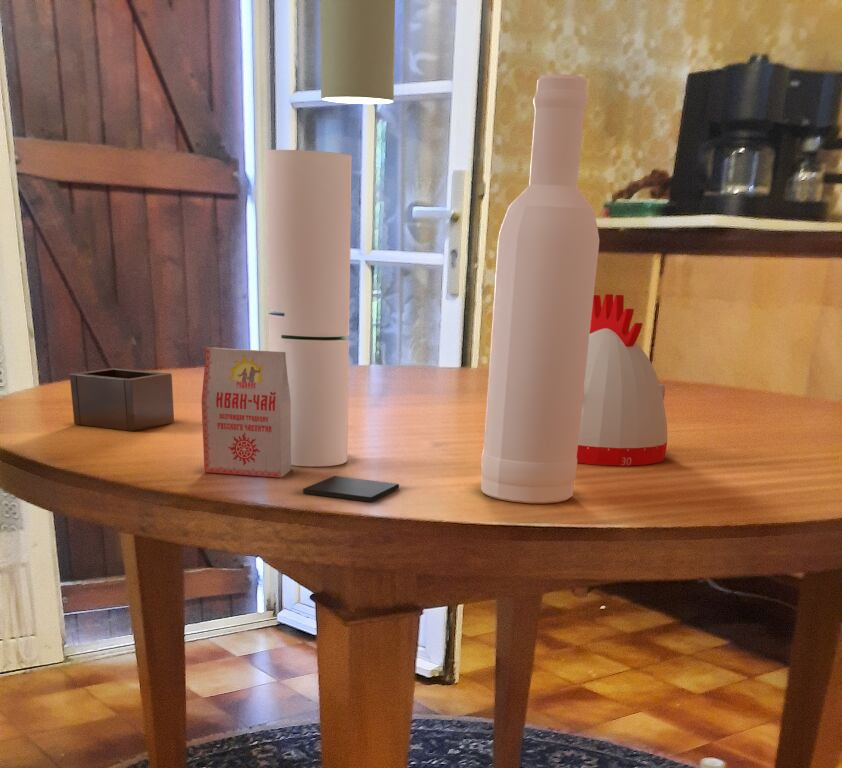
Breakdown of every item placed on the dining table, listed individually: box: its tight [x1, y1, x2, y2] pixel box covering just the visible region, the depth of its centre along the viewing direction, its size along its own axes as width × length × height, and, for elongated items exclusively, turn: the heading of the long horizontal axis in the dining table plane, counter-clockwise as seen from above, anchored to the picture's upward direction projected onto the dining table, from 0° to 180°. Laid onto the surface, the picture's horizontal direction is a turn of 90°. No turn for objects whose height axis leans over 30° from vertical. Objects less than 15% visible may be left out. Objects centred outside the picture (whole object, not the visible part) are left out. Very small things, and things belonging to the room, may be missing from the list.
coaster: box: [302, 475, 400, 503], centre depth 88 cm, size 6×6×1 cm
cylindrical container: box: [265, 149, 353, 468], centre depth 94 cm, size 7×7×25 cm
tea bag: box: [201, 346, 292, 479], centre depth 91 cm, size 4×7×10 cm, turn 83°
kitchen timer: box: [577, 293, 668, 467], centre depth 107 cm, size 14×14×15 cm
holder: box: [69, 367, 175, 432], centre depth 112 cm, size 7×7×5 cm
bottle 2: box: [480, 73, 600, 504], centre depth 84 cm, size 8×8×30 cm
